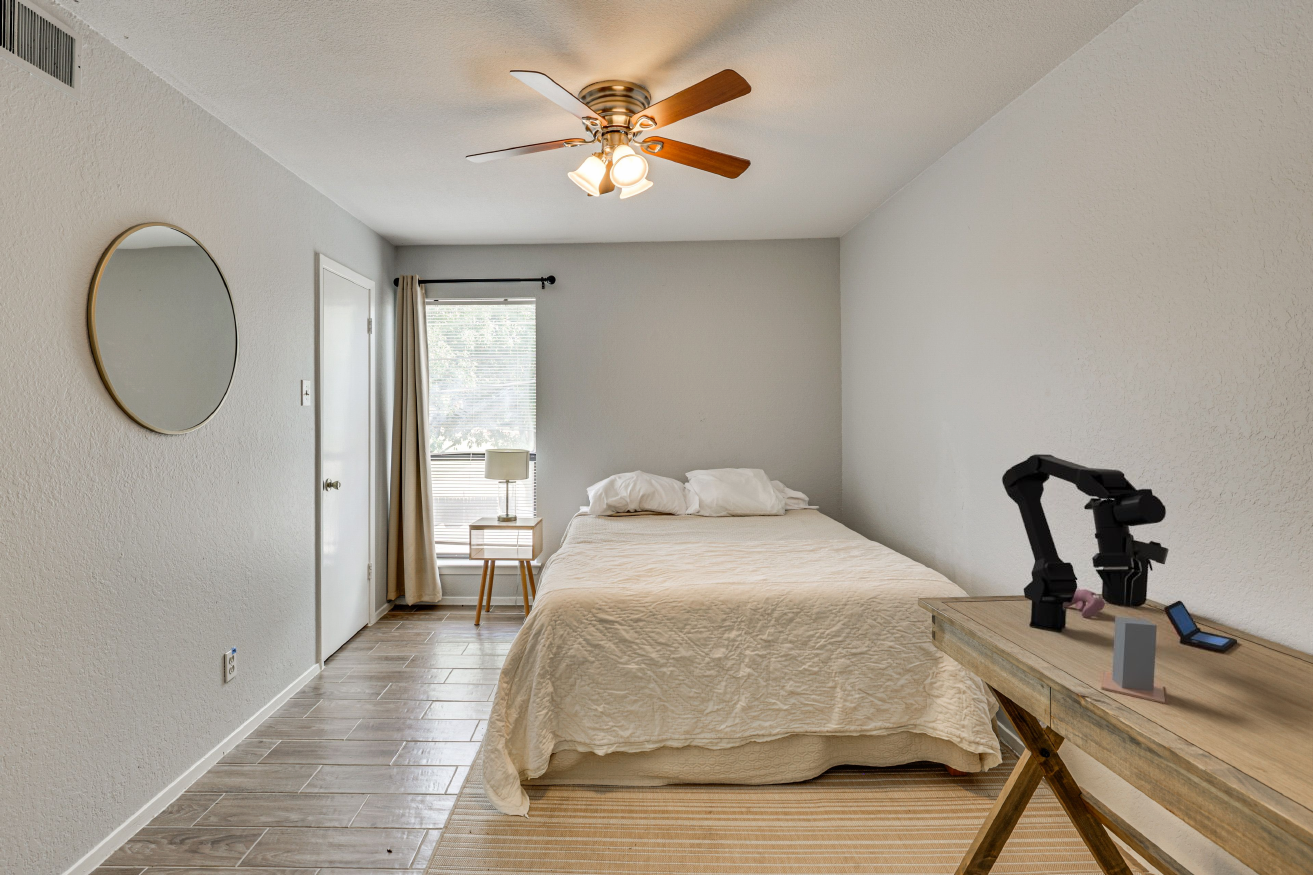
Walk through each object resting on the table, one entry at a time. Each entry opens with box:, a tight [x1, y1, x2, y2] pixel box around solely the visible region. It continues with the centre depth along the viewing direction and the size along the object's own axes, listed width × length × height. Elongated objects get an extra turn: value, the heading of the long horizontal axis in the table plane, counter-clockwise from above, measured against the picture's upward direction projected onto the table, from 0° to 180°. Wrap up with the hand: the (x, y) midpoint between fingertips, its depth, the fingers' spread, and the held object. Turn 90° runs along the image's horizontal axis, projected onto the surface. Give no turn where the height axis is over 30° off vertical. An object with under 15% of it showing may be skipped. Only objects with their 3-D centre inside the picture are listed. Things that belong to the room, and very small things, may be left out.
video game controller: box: [1064, 587, 1106, 619], centre depth 160 cm, size 10×5×7 cm, turn 0°
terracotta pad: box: [1101, 671, 1166, 704], centre depth 115 cm, size 9×9×1 cm
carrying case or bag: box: [1101, 556, 1153, 607], centre depth 167 cm, size 11×3×15 cm, turn 64°
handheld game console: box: [1163, 600, 1238, 654], centre depth 141 cm, size 12×11×7 cm
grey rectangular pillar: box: [1112, 616, 1158, 691], centre depth 115 cm, size 4×5×12 cm
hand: (1124, 606), depth 126 cm, fingers open, 9 cm apart
